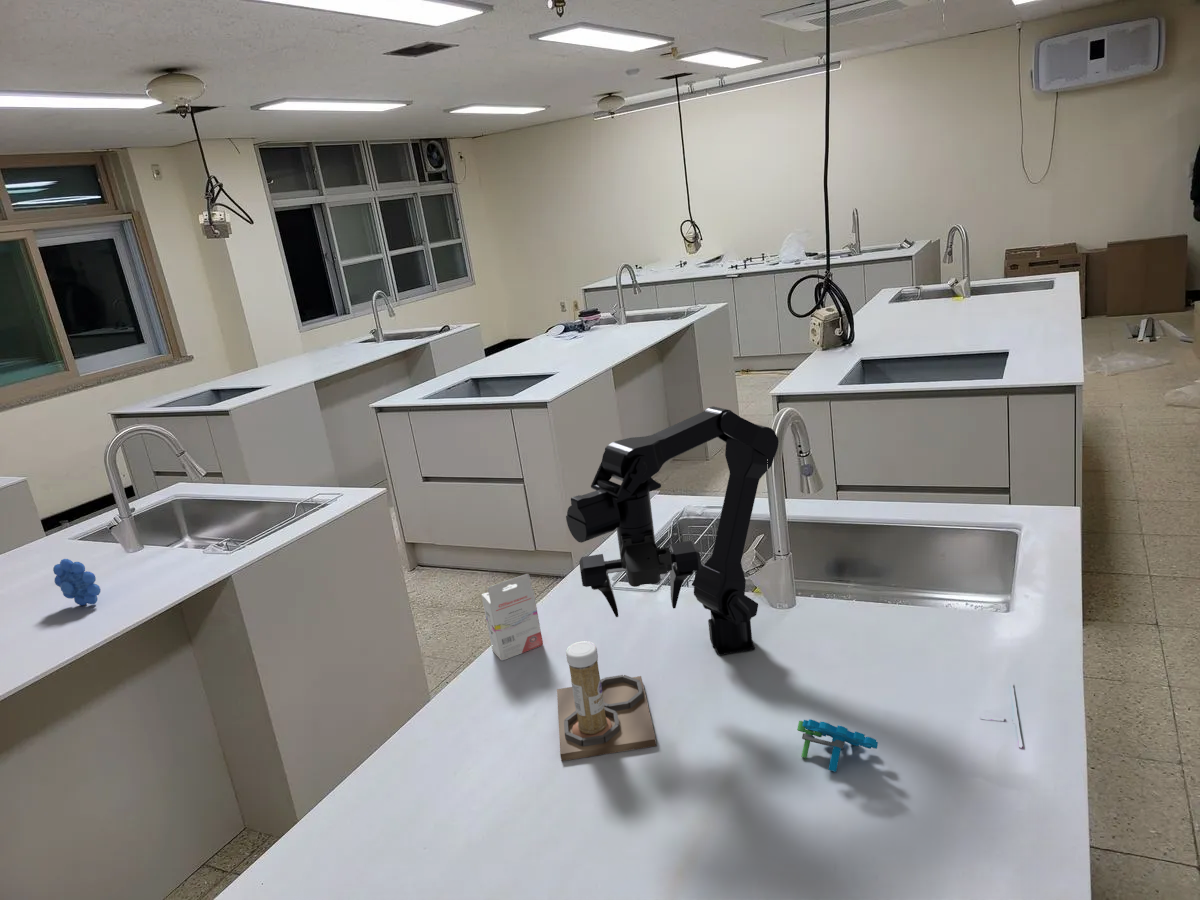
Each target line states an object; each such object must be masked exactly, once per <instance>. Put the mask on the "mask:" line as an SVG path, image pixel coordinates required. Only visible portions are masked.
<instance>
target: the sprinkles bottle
mask: <svg viewBox="0 0 1200 900" xmlns="http://www.w3.org/2000/svg"><path fill="white" fill-rule="evenodd" d="M565 653H566V662H567V664H568V666H569V673H570V677H571V678H570V682H571V687H572V689H573V696H574V702H575V708H576V712H577V716H578V728H579V730H580V731H581V732H582V733H585V734H596V733H599V732H601V731H603V730H604V729H605V728H606V726H607V719H606V715H605V708H604V699H603V692H602V686H601V677H600V669H599V664H598V661H599V654H598V648H597V645H596V644H595V643H593V642H592V641H588V640H587V641H586V640H585V641H584V640H583V641H577V642H574V643H572V644H570V645H569V646H568V647H567V649H566V651H565Z"/></svg>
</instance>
